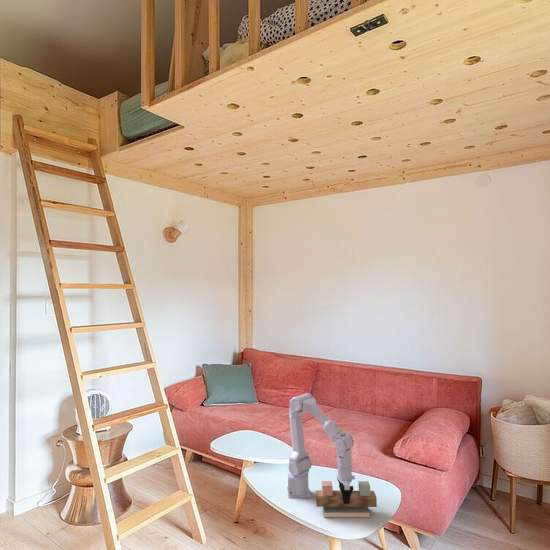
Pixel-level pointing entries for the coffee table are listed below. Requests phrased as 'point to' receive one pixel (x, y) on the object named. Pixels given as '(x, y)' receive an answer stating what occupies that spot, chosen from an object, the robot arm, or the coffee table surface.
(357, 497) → the brown wooden bar
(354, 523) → the coffee table surface
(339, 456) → the robot arm
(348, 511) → the block
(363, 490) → the pale green cube
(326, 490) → the pink cube
